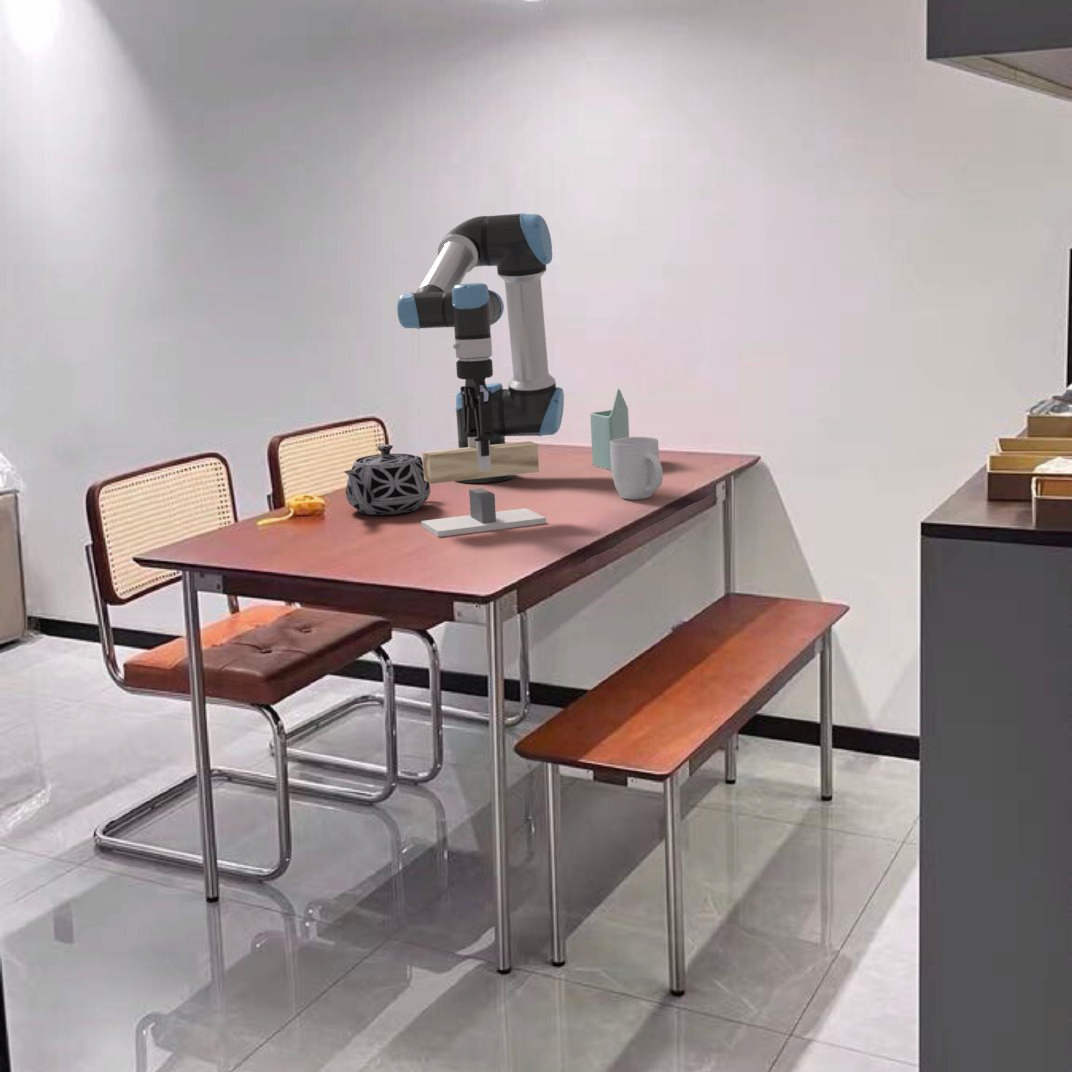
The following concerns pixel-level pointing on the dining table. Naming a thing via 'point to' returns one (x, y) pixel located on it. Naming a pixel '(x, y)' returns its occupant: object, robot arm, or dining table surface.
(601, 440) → the planter
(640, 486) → the mug
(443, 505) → the dining table surface
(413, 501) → the teapot
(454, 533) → the fulcrum
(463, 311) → the robot arm
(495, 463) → the wooden beam
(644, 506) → the dining table surface
